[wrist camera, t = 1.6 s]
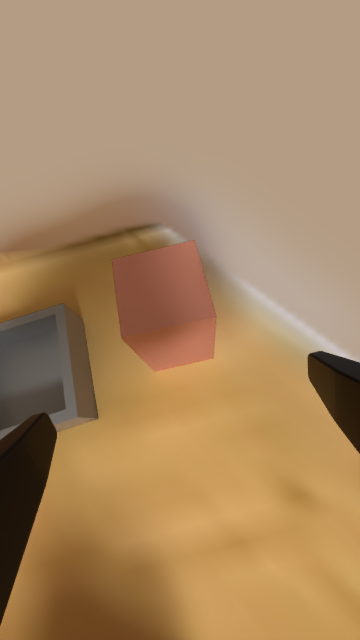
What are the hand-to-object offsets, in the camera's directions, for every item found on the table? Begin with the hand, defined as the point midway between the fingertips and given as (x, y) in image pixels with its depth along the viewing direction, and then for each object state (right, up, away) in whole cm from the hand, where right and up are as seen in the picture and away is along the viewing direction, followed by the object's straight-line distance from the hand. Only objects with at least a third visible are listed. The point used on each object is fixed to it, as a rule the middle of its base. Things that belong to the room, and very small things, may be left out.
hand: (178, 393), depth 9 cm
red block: (0, +1, +14) cm, 14 cm away
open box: (-12, -3, +14) cm, 18 cm away
